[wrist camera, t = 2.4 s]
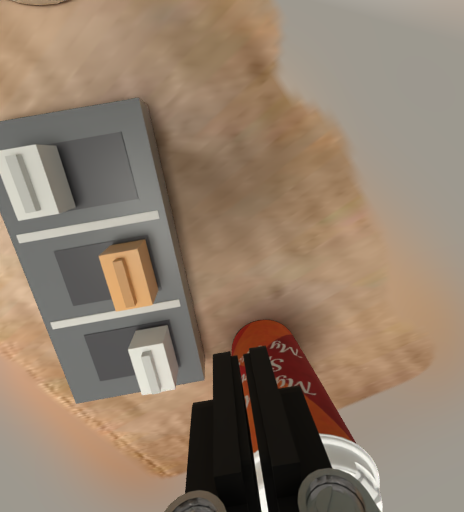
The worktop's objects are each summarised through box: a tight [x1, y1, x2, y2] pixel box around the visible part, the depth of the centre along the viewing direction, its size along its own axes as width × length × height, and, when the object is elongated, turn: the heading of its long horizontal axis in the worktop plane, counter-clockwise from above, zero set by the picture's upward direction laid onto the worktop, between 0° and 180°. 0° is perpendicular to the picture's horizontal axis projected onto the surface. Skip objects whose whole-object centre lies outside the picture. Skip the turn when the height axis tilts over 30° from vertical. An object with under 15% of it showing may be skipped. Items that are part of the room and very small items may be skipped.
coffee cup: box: [232, 320, 383, 512], centre depth 23 cm, size 8×8×15 cm
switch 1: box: [0, 144, 76, 221], centre depth 19 cm, size 4×2×3 cm, turn 9°
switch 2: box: [99, 239, 158, 312], centre depth 22 cm, size 4×2×3 cm, turn 9°
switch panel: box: [0, 98, 205, 404], centre depth 25 cm, size 22×11×3 cm, turn 9°
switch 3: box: [128, 325, 179, 395], centre depth 24 cm, size 4×2×3 cm, turn 9°
